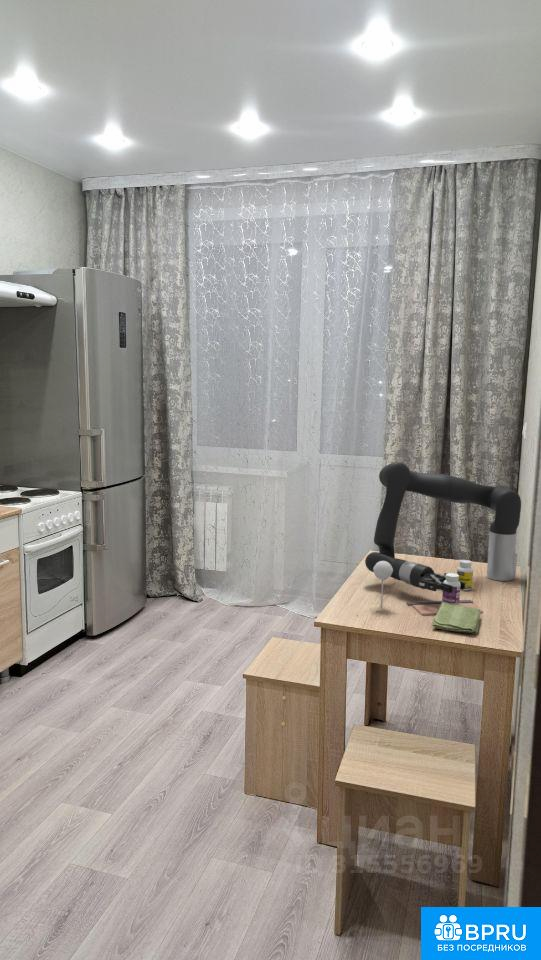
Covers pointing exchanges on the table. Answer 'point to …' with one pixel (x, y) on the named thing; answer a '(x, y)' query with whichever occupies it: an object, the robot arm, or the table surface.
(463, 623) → the washcloth
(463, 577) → the supplement bottle
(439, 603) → the mat
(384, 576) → the lollipop
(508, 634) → the table surface
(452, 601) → the pill bottle
